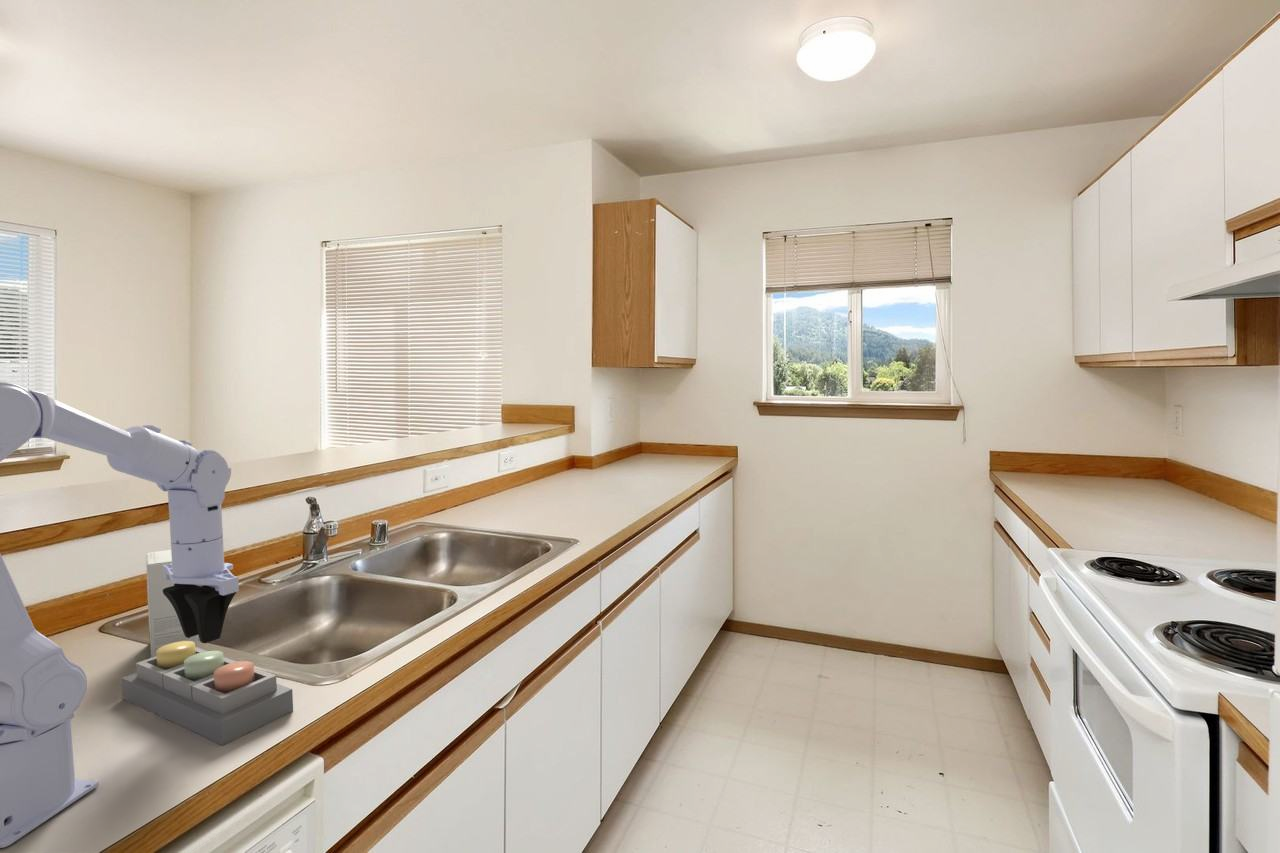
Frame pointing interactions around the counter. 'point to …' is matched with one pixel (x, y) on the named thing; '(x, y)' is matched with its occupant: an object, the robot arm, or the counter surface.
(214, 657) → the sage button
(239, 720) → the button panel
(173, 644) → the yellow rounded piece
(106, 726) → the counter surface
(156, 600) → the skincare box
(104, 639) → the counter surface
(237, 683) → the salmon pink button
